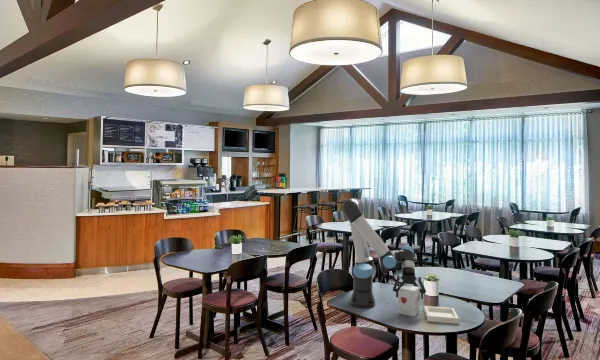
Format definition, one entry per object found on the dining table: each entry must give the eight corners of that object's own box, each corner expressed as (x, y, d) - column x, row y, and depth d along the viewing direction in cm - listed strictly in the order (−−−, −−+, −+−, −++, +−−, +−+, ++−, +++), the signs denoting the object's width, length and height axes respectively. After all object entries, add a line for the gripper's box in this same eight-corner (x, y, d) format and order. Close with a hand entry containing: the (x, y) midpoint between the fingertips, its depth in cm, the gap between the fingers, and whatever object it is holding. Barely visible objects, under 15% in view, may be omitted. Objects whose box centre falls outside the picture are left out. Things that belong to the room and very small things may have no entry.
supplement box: (398, 313, 225) (399, 287, 224) (404, 309, 232) (404, 284, 232) (414, 317, 219) (414, 290, 219) (419, 312, 227) (420, 286, 226)
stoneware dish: (427, 321, 214) (427, 315, 214) (424, 310, 230) (424, 305, 229) (458, 323, 211) (458, 318, 211) (453, 313, 226) (453, 308, 226)
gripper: (428, 274, 239) (430, 308, 224) (388, 271, 243) (388, 304, 229) (429, 267, 233) (432, 301, 219) (388, 265, 238) (388, 298, 223)
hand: (409, 303), depth 224 cm, fingers closed on supplement box, 11 cm apart
